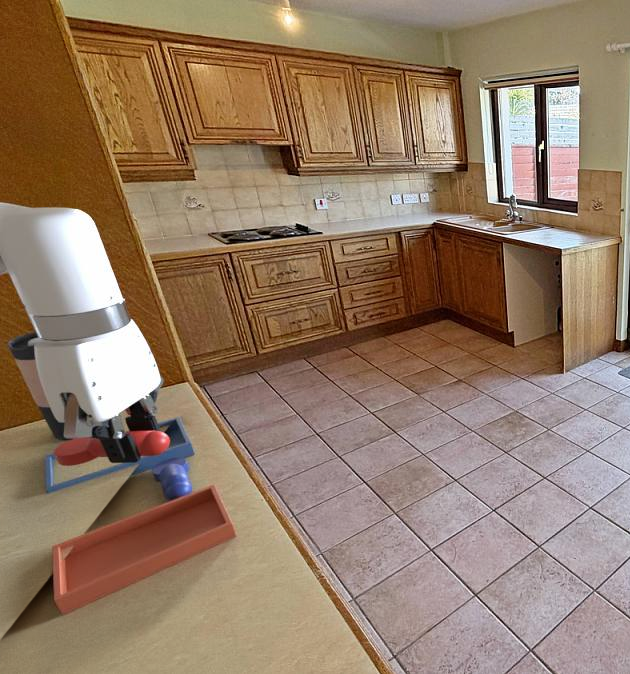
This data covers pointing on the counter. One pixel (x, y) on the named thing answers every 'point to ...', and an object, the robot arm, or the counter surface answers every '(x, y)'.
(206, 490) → the terracotta tray
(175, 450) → the blue long rectangular frame
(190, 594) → the counter surface
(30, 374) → the travel mug
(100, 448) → the red spoon
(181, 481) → the blue lumpy rod
